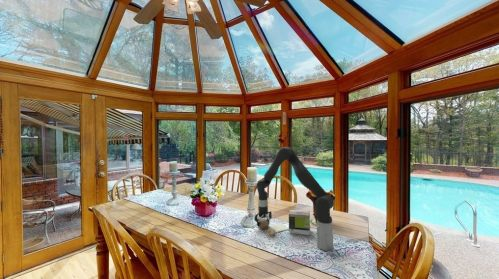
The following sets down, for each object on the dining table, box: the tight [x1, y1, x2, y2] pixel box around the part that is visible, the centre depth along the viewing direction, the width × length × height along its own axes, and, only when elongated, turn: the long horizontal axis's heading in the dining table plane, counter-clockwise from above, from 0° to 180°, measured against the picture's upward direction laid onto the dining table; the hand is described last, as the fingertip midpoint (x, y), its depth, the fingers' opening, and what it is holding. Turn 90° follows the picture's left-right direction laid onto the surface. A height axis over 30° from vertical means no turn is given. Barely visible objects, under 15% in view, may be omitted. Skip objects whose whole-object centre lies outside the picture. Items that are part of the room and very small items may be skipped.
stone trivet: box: [269, 222, 289, 234], centre depth 177 cm, size 12×12×1 cm
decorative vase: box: [305, 189, 336, 227], centre depth 187 cm, size 21×23×28 cm
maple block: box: [266, 228, 276, 237], centre depth 166 cm, size 4×4×4 cm
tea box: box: [288, 209, 311, 236], centre depth 170 cm, size 15×10×15 cm, turn 74°
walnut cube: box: [257, 218, 270, 231], centre depth 178 cm, size 6×6×6 cm
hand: (263, 225), depth 178 cm, fingers open, 8 cm apart
